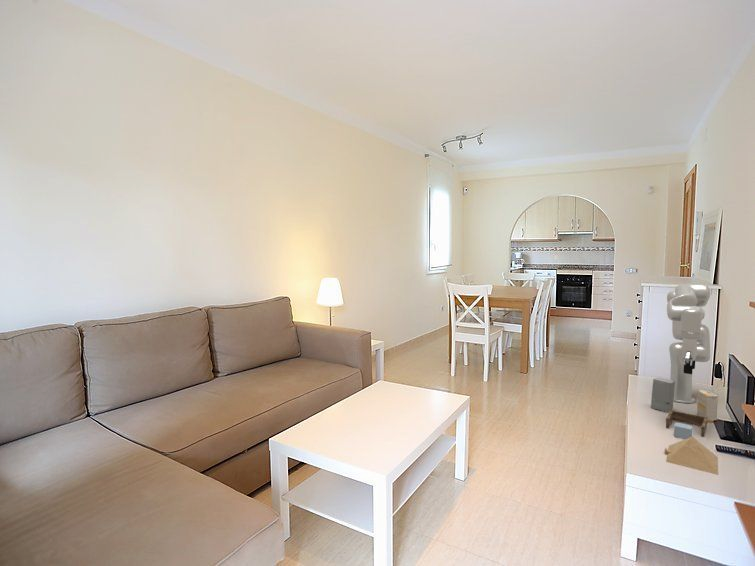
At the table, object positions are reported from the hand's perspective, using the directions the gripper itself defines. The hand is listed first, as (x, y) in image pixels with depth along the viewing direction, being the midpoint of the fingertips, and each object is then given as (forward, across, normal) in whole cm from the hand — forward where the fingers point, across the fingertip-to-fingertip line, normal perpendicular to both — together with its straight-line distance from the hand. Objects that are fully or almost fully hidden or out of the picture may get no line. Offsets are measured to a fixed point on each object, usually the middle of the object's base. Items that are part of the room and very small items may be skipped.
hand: (689, 370), depth 189 cm
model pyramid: (+27, +36, +5) cm, 45 cm away
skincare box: (+26, -15, -12) cm, 33 cm away
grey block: (+26, +15, 0) cm, 30 cm away
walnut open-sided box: (+26, +4, 0) cm, 27 cm away
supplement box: (+26, -14, +6) cm, 31 cm away
